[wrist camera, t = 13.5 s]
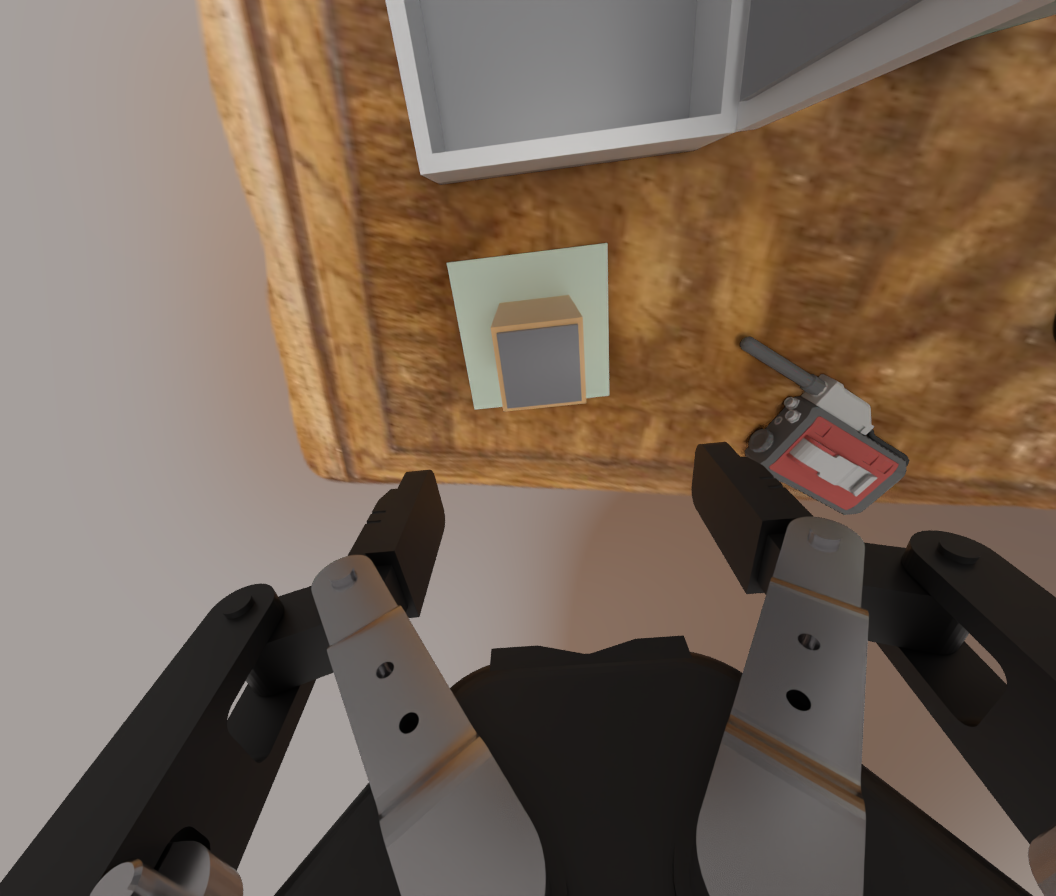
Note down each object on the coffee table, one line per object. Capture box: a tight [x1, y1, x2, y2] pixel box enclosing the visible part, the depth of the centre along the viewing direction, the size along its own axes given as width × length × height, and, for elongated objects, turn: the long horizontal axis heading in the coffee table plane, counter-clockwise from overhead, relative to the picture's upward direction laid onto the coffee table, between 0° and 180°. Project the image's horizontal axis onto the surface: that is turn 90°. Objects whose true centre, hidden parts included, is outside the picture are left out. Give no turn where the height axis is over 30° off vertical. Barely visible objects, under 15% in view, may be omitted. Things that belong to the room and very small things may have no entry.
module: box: [491, 295, 586, 412], centre depth 26 cm, size 5×5×8 cm
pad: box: [447, 243, 609, 410], centre depth 30 cm, size 11×11×1 cm
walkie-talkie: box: [740, 337, 909, 515], centre depth 32 cm, size 9×4×20 cm
